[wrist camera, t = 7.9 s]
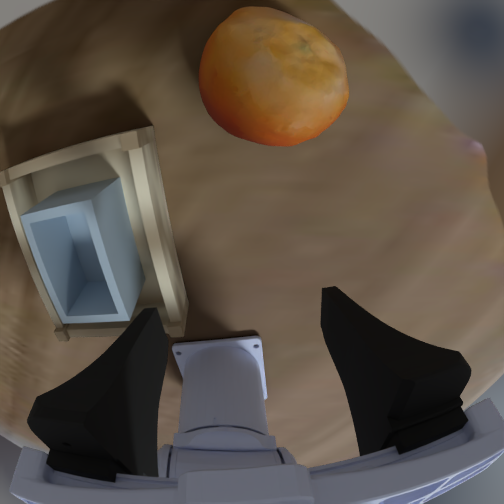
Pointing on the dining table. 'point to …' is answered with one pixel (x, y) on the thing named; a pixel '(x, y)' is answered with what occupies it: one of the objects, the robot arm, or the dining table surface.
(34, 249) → the small crate
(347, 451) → the dining table surface
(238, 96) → the fruit
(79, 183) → the pine crate
